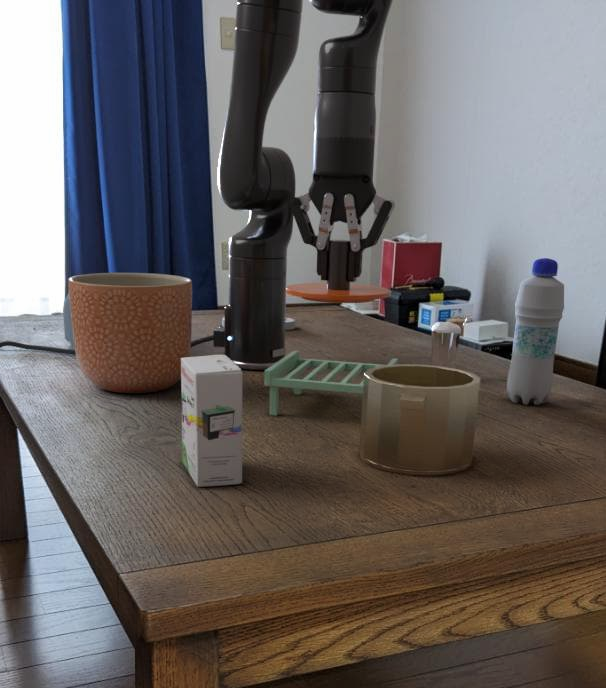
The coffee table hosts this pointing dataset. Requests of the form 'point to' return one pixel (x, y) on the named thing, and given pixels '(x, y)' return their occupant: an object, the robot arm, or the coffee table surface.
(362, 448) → the pot
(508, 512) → the coffee table surface
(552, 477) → the coffee table surface
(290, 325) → the game controller
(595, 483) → the coffee table surface
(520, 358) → the bottle
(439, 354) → the milkshake
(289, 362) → the rack
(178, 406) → the coffee table surface
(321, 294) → the lid
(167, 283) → the planter
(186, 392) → the ink box
